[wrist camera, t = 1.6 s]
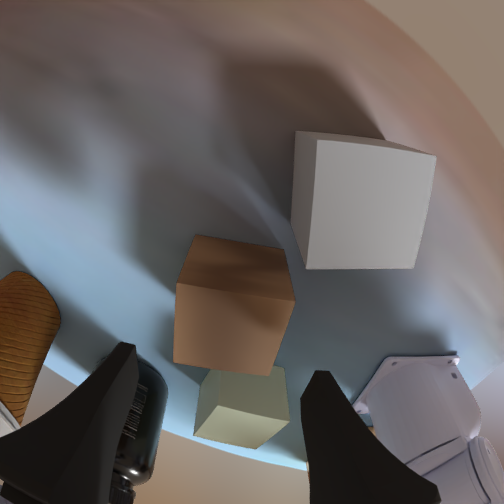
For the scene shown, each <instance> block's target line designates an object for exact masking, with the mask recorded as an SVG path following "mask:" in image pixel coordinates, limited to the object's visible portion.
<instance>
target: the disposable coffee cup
mask: <svg viewBox="0 0 504 504" xmlns="http://www.w3.org/2000/svg"><path fill="white" fill-rule="evenodd" d="M60 323H61V322H60V314H59V310H58V308H57V305H56V303H55V302H54V300H53V298H52V297H51V295H50V294H49V292H48V291H47V290H46V289H45V288H44V286H43V285H42V284H41V283H40V282H39V281H37V280H36V279H35V278H33V277H32V276H30V275H29V274H26V273H23V272H20V271H15V272H12V273H10V274H9V275H7V276H6V277H5V278H3V279H2V280H0V437H2V436H4V435H7V434H9V433H11V432H13V431H16V430H18V429H20V427H21V423H22V420H23V417H24V414H25V411H26V408H27V405H28V402H29V399H30V397H31V394H32V391H33V388H34V385H35V383H36V380H37V377H38V375H39V373H40V370H41V368H42V365H43V363H44V360H45V358H46V356H47V353H48V351H49V349H50V346H51V344H52V342H53V340H54V338H55V335H56V333H57V331H58V329H59V327H60Z"/></svg>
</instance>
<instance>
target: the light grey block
mask: <svg viewBox="0 0 504 504" xmlns="http://www.w3.org/2000/svg"><path fill="white" fill-rule="evenodd" d="M436 157H437V156H434V155H432V154H429V153H426V152H423V151H420V150H417V149H413V148H410V147H407V146H404V145H400V144H397V143H394V142H390V141H387V140H381V139H374V138H367V137H359V136H351V135H342V134H332V133H321V132H308V131H295V151H294V171H293V189H292V205H291V220H290V224H291V227H292V230H293V233H294V235H295V238H296V241H297V244H298V247H299V250H300V253H301V256H302V259H303V262H304V265H305V268H306V269H408V268H414V264H415V261H416V257H417V253H418V250H419V246H420V242H421V238H422V233H423V229H424V225H425V220H426V216H427V211H428V206H429V201H430V195H431V190H432V184H433V178H434V171H435V164H436Z"/></svg>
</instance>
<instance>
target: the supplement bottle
mask: <svg viewBox="0 0 504 504" xmlns="http://www.w3.org/2000/svg"><path fill="white" fill-rule="evenodd" d="M105 359H106V358H104V359H102V360H100V361H99V362H98V363H97V364H96V366H95V368H94V370H93V372H94V371H95V370H96V368H97V367H98V366H99V365H100V364H101V363H102V362H103V361H104V360H105ZM137 363H138V372H139V379H138V383H137V388H136V392H135V396H134V399H133V402H132V405H131V408H130V411H129V414H128V416H127V419H126V422H125V425H124V428H123V431H122V434H121V436H120V439H119V443H118V446H117V450H116V455H115V460H114V465H113V471H112V478H111V484H110V493H109V502H108V504H133V501H134V499H135V496H136V492H135V491H134V490H133V486H136V485H141V484H144V483H146V482H147V481H148V480H149V479H150V478H151V477H152V474H153V470H154V464H155V459H156V454H157V448H158V443H159V438H160V432H161V428H162V423H163V418H164V413H165V408H166V403H167V398H168V388H167V385H166V383H165V382H164V380H163V379H162V377H161V376H160V375H159V374H158V373H157V372H156V371H154V370H153V369H152V368H150V367H149V366H147V365H145V364H143V363H141V362H139V361H137ZM93 372H92V373H93Z"/></svg>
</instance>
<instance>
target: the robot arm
mask: <svg viewBox="0 0 504 504" xmlns="http://www.w3.org/2000/svg"><path fill="white" fill-rule="evenodd" d="M459 360H460V357H459V356H458V355H455V356H428V357H387V358H386V359H385V360H384V361H383V362H382V364H381V365H380V367H379V368H378V370H377V371H376V373H375V374H374V376H373V377H372V379H371V380H370V382H369V383H368V385H367V386H366V387H365V389H364V390H363V392H362V393H361V394H360V396H359V397H358V398H357V400H356V401H355V402H354V404H353V405H351V404H350V402H349V401H348V399H347V398H346V396H345V395H344V393H343V391H342V390H341V388H340V387H339V385H338V384H337V382H336V380H335V379H334V377H333V376H332V374H331V373H330V371H322V370H315V372H314V374H313V376H312V378H311V380H310V382H309V384H308V385H307V387H306V389H305V391H304V393H303V395H302V396H301V398H300V402H301V422H302V428H303V435H304V440H305V446H306V452H307V458H308V465H309V480H310V504H504V471H503V468H502V465H501V463H500V460H499V458H498V456H497V454H496V452H495V450H494V448H493V447H492V445H491V443H490V442H489V441H488V439H487V438H485V437H479V436H478V433H479V431H480V427H481V412H480V408H479V406H478V404H477V402H476V400H475V398H474V396H473V395H472V393H471V391H470V389H469V387H468V385H467V384H466V382H465V380H464V378H463V377H462V375H461V373H460V372H459V370H458V368H457V367H456V365H457V363H458V362H459ZM138 379H139V372H138V363H137V354H136V345H134V344H129V343H125V342H120V343H118V345H117V346H116V347H115V348H114V349H113V351H112V352H111V353H110V354H109V355H108V356H107V358H106V359H105V360H104V361H103V362H102V363H101V364H100V365H99V366H98V367H97V368H96V370H95V371H94V372H93V373H92V374H91V375H90V376H89V377H88V378H87V379H86V380H85V381H84V382H83V383H82V384H81V385H79V386H78V387H77V388H76V389H75V390H74V391H73V392H72V393H71V394H70V395H69V396H67V397H66V398H65V399H64V400H63V401H61V402H60V403H59V404H57V405H56V406H55V407H53V408H52V409H51V410H49V411H48V412H46V413H45V414H44V415H42V416H40V417H39V418H37V419H36V420H34V421H32V422H31V423H29V424H27V425H25V426H23V427H21V428H20V429H18V430H16V431H13V432H11V433H9V434H7V435H4V436H2V437H0V479H1V480H3V481H4V483H3V486H2V485H0V504H108V502H109V493H110V484H111V478H112V471H113V465H114V460H115V455H116V450H117V446H118V443H119V439H120V436H121V434H122V431H123V428H124V425H125V422H126V419H127V416H128V414H129V411H130V408H131V405H132V402H133V399H134V396H135V392H136V388H137V383H138ZM366 413H369V414H370V417H371V420H372V423H373V427H374V430H375V434H376V437H377V438H376V437H375V435H374V434H373V433H372V432H371V431H370V429H369V428H368V427H367V426H366V424H365V423H364V422H363V421H362V419H361V418H360V416H359V415H358V414H366Z"/></svg>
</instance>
